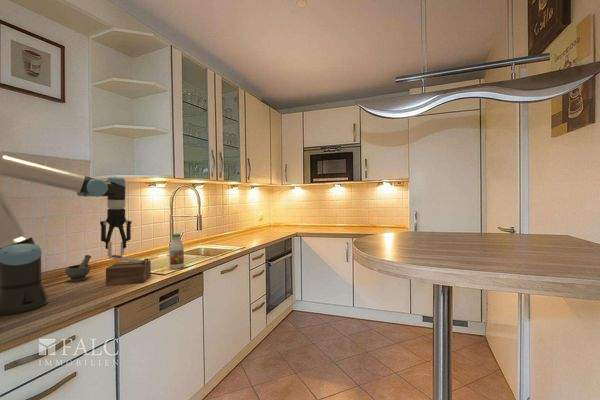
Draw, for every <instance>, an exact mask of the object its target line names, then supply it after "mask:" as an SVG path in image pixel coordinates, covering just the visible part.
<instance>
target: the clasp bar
mask: <svg viewBox="0 0 600 400" xmlns="http://www.w3.org/2000/svg"><path fill="white" fill-rule="evenodd" d="M108 259H112V260H118V261H123V262H130V261H131V262H137V263H141V261H145V262H147V260H144V259H140V258H135V257H134V258H133V257H127V256H124V255H122V256H121V255H119V254H111V255H110V256H108Z"/></svg>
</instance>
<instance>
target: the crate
mask: <svg viewBox="0 0 600 400" xmlns="http://www.w3.org/2000/svg"><path fill="white" fill-rule="evenodd" d="M143 260H147V262H145V261H141V263H137V262H131V261H116V262H114V263H113V264H112V265H109V266H107V267H106V268H105V286H108V287H110V286H120V285H121V286H123V285H130V284H131V285H134V284H144V283H146V281H147V280H148V279H149V277H151V275H152V274H151V271H152V269H151V268H152V267H151V266H152V265H151V260H149V258H144V259H143Z"/></svg>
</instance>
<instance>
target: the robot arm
mask: <svg viewBox="0 0 600 400" xmlns="http://www.w3.org/2000/svg"><path fill="white" fill-rule="evenodd" d="M0 176H4V177H8V178H12V179H17V180H20V181H21V180H22V181H25V182H30V183H35V184H39V185H43V186H49V187H53V188H56V189H57V188H58V189H62V190H66V191H70V192H75V193H76V195H77V196H79V197H95V198H97V197H98V198H99V197H107V201H106V202H107V203H106V204H107V208H108V209H107V211H106V213H107V218H106V219H105V220H101V221H100V222H99V224H100V241H101V242H104V243H105V250H107V257H109V256H110V255H112V246H113V245H112V241H111V239H112V235H113V231H114V229H115V228H118V230H119V235H120V237H121V242H120V256H124V255H125V249H126V248H127V242H129V241H131V239H132V238H131V237H132V236H131V235H132V233H131V232H132V231H131V228H132V224H133V221H132V220H128V219H127V218H126V209H125V208H126V179H125V178H123V177H117V176H116V177H115V176H114V177H113V176H110V177H108V178H107V180H103V179H101V178H94V177H90V176H86V175H83V174H78V173H75V172H71V171H67V170H64V169H60V168H57V167H56V168H55V167H53V166H52V167H51V166H49V165H44V164H40V163H36V162H32V161H29V160H25V159H21V158H17V157H13V156H11V155H7V154H4V153H3V152H2V150H0ZM107 224H108V225H109V226H108V231H107ZM124 224H125V225H126V233H125V230H124ZM42 253H43V252H42V250H41V246H40V245H38V244H36V243H35V241H34V239H33V237H32V236H31V235H28V234H26V233H25V232H24V230H23V227H22V226H21V224H20V222H19V220H18V218H17V216H16V214H15V213H14V210H13V208H12V206H11V203H10V202H9V200H8V198H7V196H6V194H5V192H4V190H3V188H2V186H1V185H0V316H4V315H5V316H6V315H8V316H9V315H15V314H21V313H25V312H28V311H29V312H30V311H33V310H36V309H38V308H41V307H43V306H45V305H46V304H48V302H49V301H48V299H49V298H48V295H47V292H46V290H45V288H44V286H43V284H42Z"/></svg>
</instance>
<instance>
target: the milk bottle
mask: <svg viewBox="0 0 600 400" xmlns="http://www.w3.org/2000/svg"><path fill="white" fill-rule="evenodd" d="M171 238H172V240H171V243H170V246H169V255H168V259H169V269H171V270H178V269H177V268H180V269H182V268H181V267H183V268H184V267H185V260H184V259H185V256H184V254H185V251H184V250H185V249H184V245H183V242H182V241H181V238H182V237H181V233H172V235H171Z"/></svg>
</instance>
